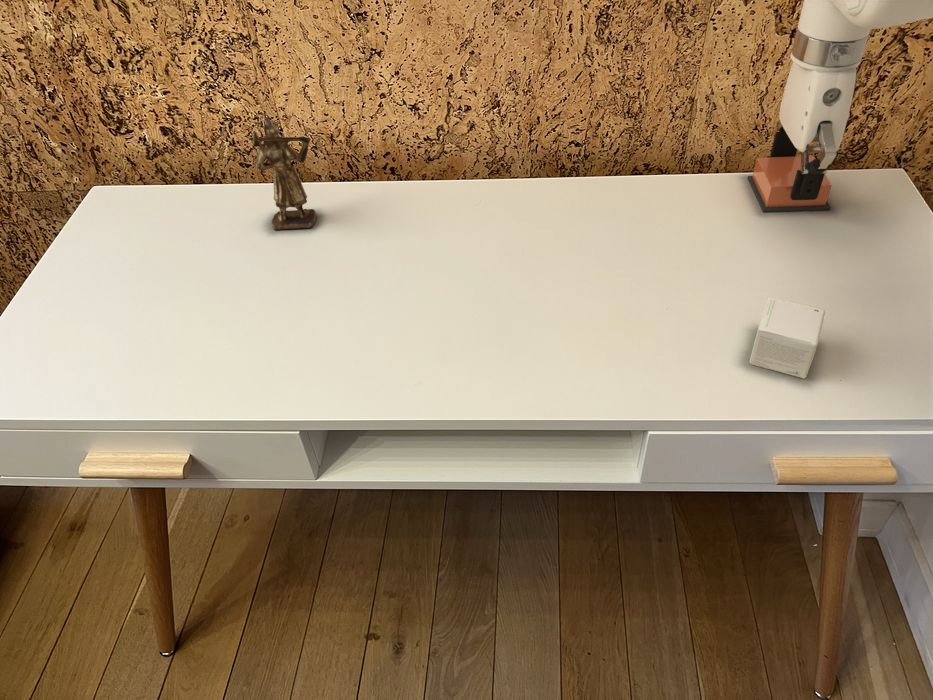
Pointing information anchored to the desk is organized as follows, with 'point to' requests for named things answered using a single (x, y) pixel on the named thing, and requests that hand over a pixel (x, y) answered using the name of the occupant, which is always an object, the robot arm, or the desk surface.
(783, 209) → the mat
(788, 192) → the orange flat block
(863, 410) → the desk surface
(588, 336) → the desk surface
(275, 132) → the figurine
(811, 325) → the small box
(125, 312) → the desk surface
